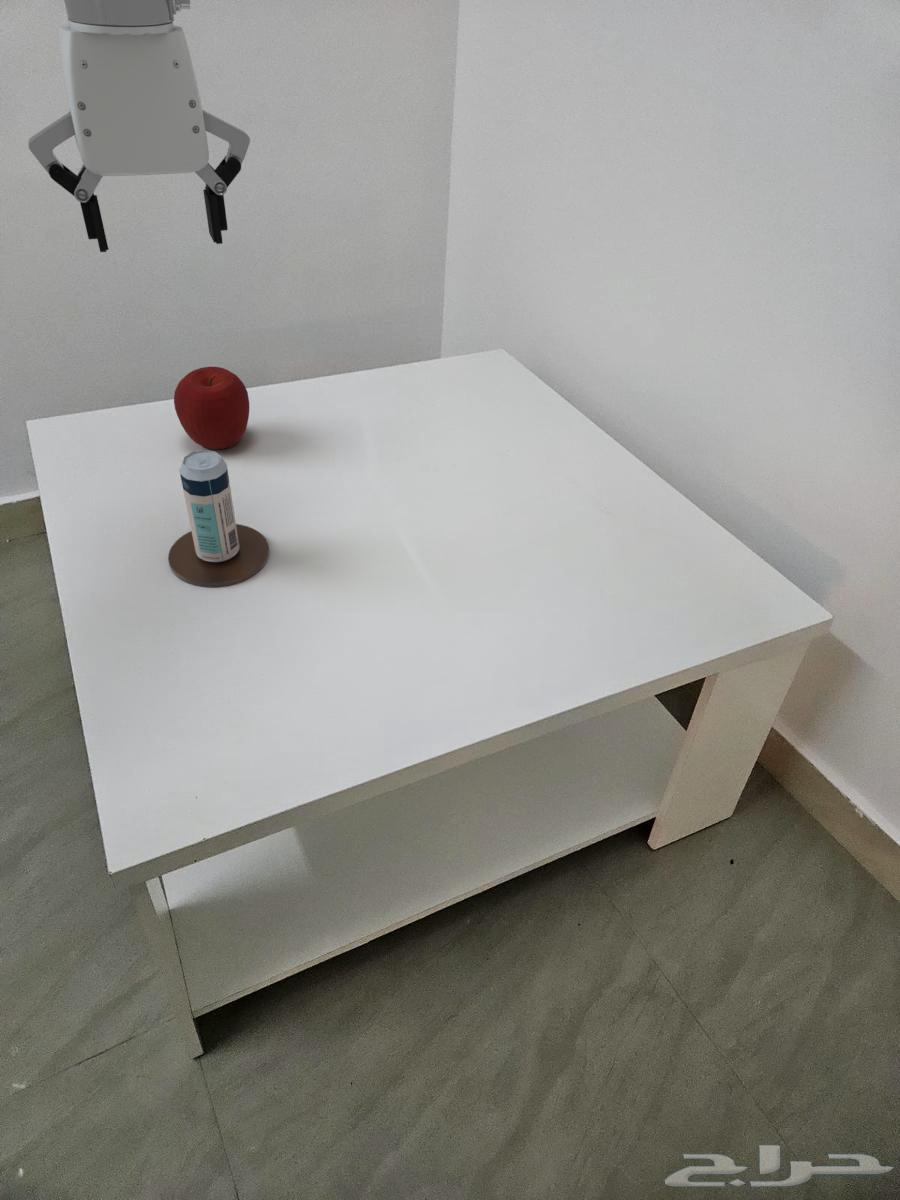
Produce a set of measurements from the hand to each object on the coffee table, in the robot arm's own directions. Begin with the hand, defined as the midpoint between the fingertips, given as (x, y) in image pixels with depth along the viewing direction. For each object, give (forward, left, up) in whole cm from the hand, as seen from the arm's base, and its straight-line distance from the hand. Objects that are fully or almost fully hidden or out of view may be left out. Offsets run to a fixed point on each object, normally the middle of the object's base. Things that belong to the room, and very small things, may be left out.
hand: (160, 243), depth 72 cm
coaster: (0, -3, -33) cm, 33 cm away
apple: (+4, +22, -33) cm, 40 cm away
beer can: (0, -3, -33) cm, 33 cm away
